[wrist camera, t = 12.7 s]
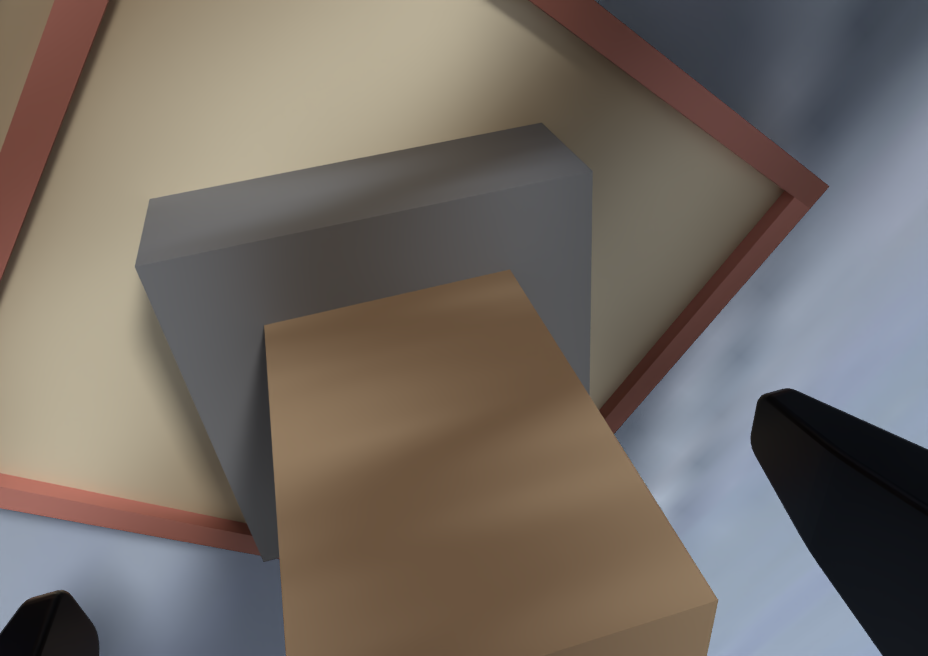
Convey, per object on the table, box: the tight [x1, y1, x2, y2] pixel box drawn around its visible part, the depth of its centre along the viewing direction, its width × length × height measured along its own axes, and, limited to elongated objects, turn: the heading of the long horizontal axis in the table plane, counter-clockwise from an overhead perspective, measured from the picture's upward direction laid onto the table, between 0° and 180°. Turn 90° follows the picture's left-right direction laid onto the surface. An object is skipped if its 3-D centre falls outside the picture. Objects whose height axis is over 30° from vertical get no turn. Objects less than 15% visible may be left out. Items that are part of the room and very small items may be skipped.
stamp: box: [135, 123, 718, 656], centre depth 10 cm, size 6×6×8 cm
